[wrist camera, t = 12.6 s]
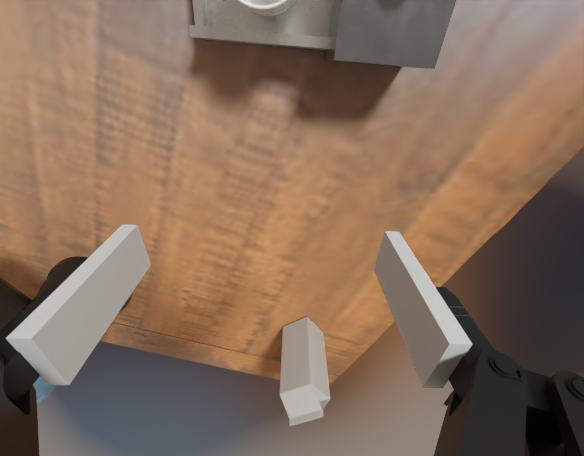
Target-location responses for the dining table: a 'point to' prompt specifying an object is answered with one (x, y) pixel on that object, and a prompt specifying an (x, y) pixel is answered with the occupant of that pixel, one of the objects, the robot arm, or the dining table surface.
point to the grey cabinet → (336, 28)
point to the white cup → (268, 6)
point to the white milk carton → (303, 371)
